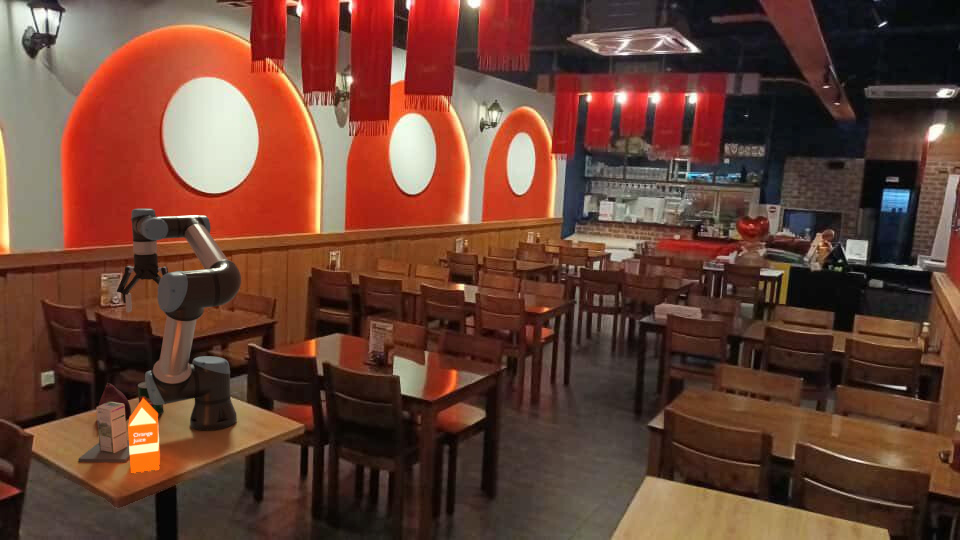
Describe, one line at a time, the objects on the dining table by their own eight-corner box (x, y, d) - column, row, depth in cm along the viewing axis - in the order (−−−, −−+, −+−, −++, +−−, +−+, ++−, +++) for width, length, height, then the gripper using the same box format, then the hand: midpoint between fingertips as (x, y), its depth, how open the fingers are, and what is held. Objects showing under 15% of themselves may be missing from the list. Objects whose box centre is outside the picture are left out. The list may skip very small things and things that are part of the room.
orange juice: (130, 474, 199) (126, 408, 196) (132, 461, 207) (128, 398, 204) (160, 469, 202) (156, 405, 199) (160, 457, 210) (157, 395, 207)
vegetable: (118, 431, 236) (112, 396, 230) (92, 425, 238) (85, 389, 232) (138, 414, 246) (133, 379, 240) (113, 407, 248) (108, 373, 241)
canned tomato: (159, 407, 251) (158, 379, 249) (166, 413, 245) (165, 384, 244) (136, 412, 246) (134, 383, 244) (143, 419, 240) (141, 389, 238)
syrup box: (128, 446, 215) (125, 402, 213) (113, 454, 209) (110, 409, 207) (114, 444, 217) (111, 400, 214) (98, 451, 211) (95, 406, 209)
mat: (146, 443, 220) (146, 440, 220) (125, 462, 206) (125, 459, 206) (102, 442, 220) (102, 439, 220) (78, 461, 206) (78, 458, 206)
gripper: (185, 252, 242) (188, 310, 246) (114, 250, 241) (118, 309, 245) (177, 255, 235) (180, 315, 238) (103, 253, 234) (107, 314, 237)
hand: (148, 312), depth 242 cm, fingers open, 13 cm apart
